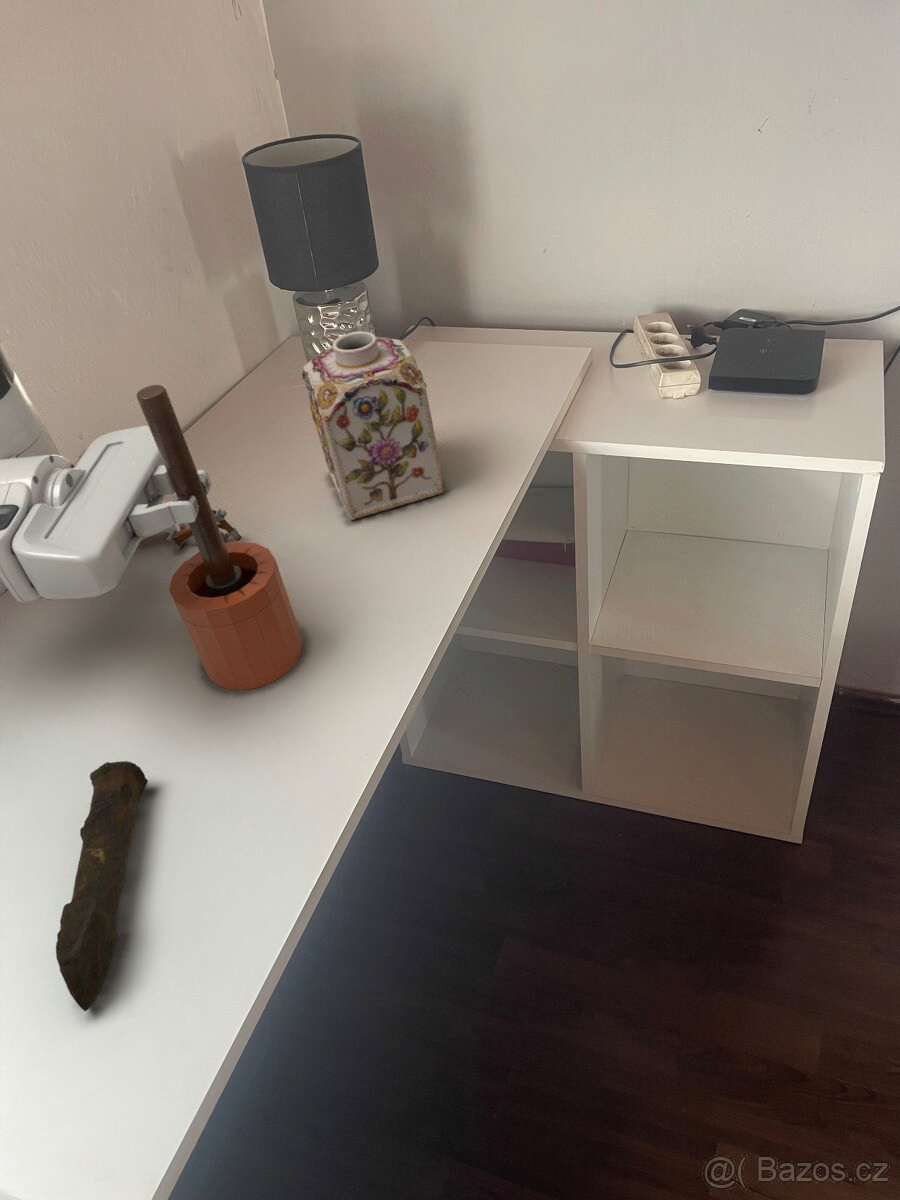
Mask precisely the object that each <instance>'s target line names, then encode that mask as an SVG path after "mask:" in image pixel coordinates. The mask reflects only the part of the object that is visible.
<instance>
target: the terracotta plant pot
mask: <svg viewBox="0 0 900 1200" xmlns="http://www.w3.org/2000/svg"><path fill="white" fill-rule="evenodd" d="M225 546H226V548H227V551H228V554H229V556H230V559H231V562H232V564H233V565H234V566H237V567H239V568H240V570H241V572H242V574H243V577H244V580H245V582H246V585H245V586H244V587H243V588H241V589H240V590H238V591H236V592H233V593H231V594H228V595H226V596H220V597H213V598H212V596H211V594H210V591H209V589H208V586H207V584H206V577H207V576H208V574H209V573H208V571H207V569H206V566H205V564H204V561H203V559H202V556H201V554H200V551H199V552H196V554H194V555H192V556H191V557H189V558H188V559H186V560H185V561H183V563H181V564H180V566H179V567H178V568H177V569H176V571H175V572H174V573H173V574H172V576H171V579H170V583H169V587H168V588H169V589H168V591H169V593H170V595H171V598H172V600H173V602H174V604H175V607H176V609H177V611H178V613H179V616H180V618H181V620H182V622H183V624H184V625H183V626H184V627H185V629H186V631H187V633H188V635H189V636H188V637H189V638H190V640H191V643H192V644H193V647H194V649H195V652H196V654H197V656H198V657H199V660H200V662H201V664H202V666H203V668H204V671H205V674H206V675H207V677H208V679H210V680H211V681H212V683H214V684H215V685H217V686H219V687H222V688H224V689H227V690H232V691H233V690H234V691H246V690H253V689H258V688H261V687H264V686H267V685H269V684H271V683H273V682H275V681H277V680H278V679H280V678H282V677H283V676H284V675H286V674H287V673H288V672H289V671H290V670H291V669H292V668H293V667H294V666H295V665H296V663H297V662H298V659H299V658H300V656H301V653H302V650H303V639H302V636H301V634H302V633H301V630H300V627H299V625H298V622H297V619H296V616H295V613H294V610H293V607H292V604H291V602H290V601H291V600H290V599H289V595H288V591H287V589H286V586H285V583H284V580H283V577H282V574H281V572H280V569H279V566H278V563H277V560H276V558H275V556H274V555H273V553H272V551H271V550H270V549H269V548H267V547H265V546H264V545H261V544H259V543H257V542H251V541H242V540H240V541H236V540H235V541H230V542H226V543H225Z"/></svg>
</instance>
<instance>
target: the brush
mask: <svg viewBox="0 0 900 1200" xmlns="http://www.w3.org/2000/svg"><path fill="white" fill-rule="evenodd" d="M136 399H137V402H138V404H139V407H140V408H141V409H140V410H141V411H142V414H143V417H144V418H145V421H146V423H147V425H148V426H149V429H150V431H151V433H152V436H153V438H154V441H155V443H156V446H157V448H158V451H159V453H160V456H161V458H162V460H163V463H164V465H165V468H166V470H167V473H168V475H169V478H170V480H171V483H172V485H173V487H174V490H175V492H174V493H175V496H177V495H183V496H185V495H189V494H191V495H193V496H195V497H196V499H197V503H198V505H199V507H200V510H199V513H198V515H197V517H196V519H195V521H194V522H192V523H187V524H188V526H189V527H188V528H190V529H191V532H192V534H193V536H192V537H193V539H194V542H195V544H196V547H197V549H198V551H199V552H200V554H201V556H202V559H203V561H204V564H205V566H206V569H207V571H208V573H209V574H208V576H207V577H206V584H207V586H208V589H209V591H210V594H211V596H212V598H213V597H220V596H226V595H228V594H231V593H233V592H236V591H238V590H240V589H241V588H243V587H244V586H245V585H246V582H245V580H244V577H243V574H242V572H241V570H240V568H239V567H237V566H234V565H233V564H232V562H231V559H230V556H229V554H228V551H227V548H226V546H225V543H224V541H223V538H222V535H221V530H220V528H219V527H218V525H217V524H218V523H217V522H216V520H215V517H214V514H213V512H212V510H213V509H212V506H211V504H210V501H209V499H208V495H207V496H206V493H205V491H204V488H203V485H202V483H201V480H200V478H199V475H198V472H197V471H198V470H197V466H196V464H195V462H194V459H193V457H192V454H191V451H190V448H189V446H188V443H187V441H186V438H185V435H184V433H183V430H182V428H181V425H180V423H179V420H178V417H177V414H176V412H175V410H174V409H175V408H174V406H173V404H172V401H171V399H170V397H169V393H168V391H167V388H166V386H164V385H162V384H153V385H152V384H151V385H148V386H146V387H143V388H141V389H140V390H138V391H137V393H136Z"/></svg>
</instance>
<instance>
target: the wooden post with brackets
mask: <svg viewBox="0 0 900 1200" xmlns="http://www.w3.org/2000/svg"><path fill="white" fill-rule="evenodd" d="M212 512H213V514H214V517H215V520H216V522H217V525H218V527H219V529H221V530H224V531H225V533H224V532H223V531H220V533H221V535H222V538H223V541H224V543H227V541H228V540H229V538H232V539H233V540H234V541H235V542H236V541H242V539H243V536H242V535H241V533H239V531H238V530H237V529H236V528H235V527H233V526H232V525H231V524H230V523H229V522H228V521H227V520H226V519H225V517H226V516H227V514H228V513H227V511H226V510H225V509H221V508H219V509H217V510H215V509H212ZM191 537H193V534H192V532H191V529H190V527H187V528H185V529H182V530H180V531H178V532H177V531H176V530H175V529H174V530H172V531H171V533H169V535H168V537H167V538H166V540H167V541H168V542H169V543H170V544H171V545H172V546H173V547H174V548H175V550H177V551H179V550H181V548H182V546H183V544H184V543H185V542H186V541H187V540H189V539H190V538H191Z"/></svg>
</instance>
